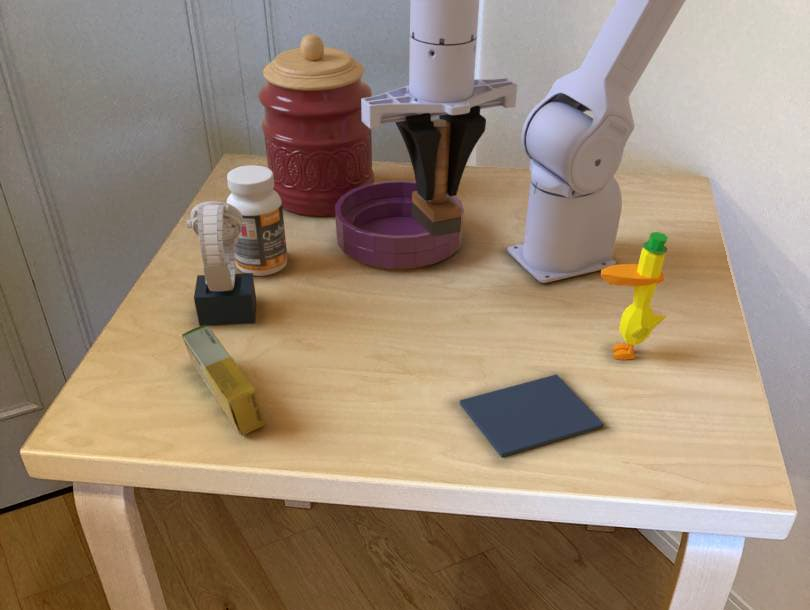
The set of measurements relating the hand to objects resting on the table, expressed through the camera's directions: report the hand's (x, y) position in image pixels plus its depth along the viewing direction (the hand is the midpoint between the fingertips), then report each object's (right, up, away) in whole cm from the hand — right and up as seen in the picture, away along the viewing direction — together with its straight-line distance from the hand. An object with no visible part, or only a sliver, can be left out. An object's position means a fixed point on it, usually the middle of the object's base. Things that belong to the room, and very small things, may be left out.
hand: (436, 194), depth 81 cm
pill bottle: (-19, -3, +11) cm, 22 cm away
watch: (-21, -10, +5) cm, 24 cm away
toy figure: (+18, -16, 0) cm, 24 cm away
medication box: (-19, -21, -5) cm, 29 cm away
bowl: (-4, +1, +15) cm, 16 cm away
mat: (+8, -22, -7) cm, 25 cm away
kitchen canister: (-13, +10, +24) cm, 29 cm away
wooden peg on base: (0, -2, +2) cm, 3 cm away
